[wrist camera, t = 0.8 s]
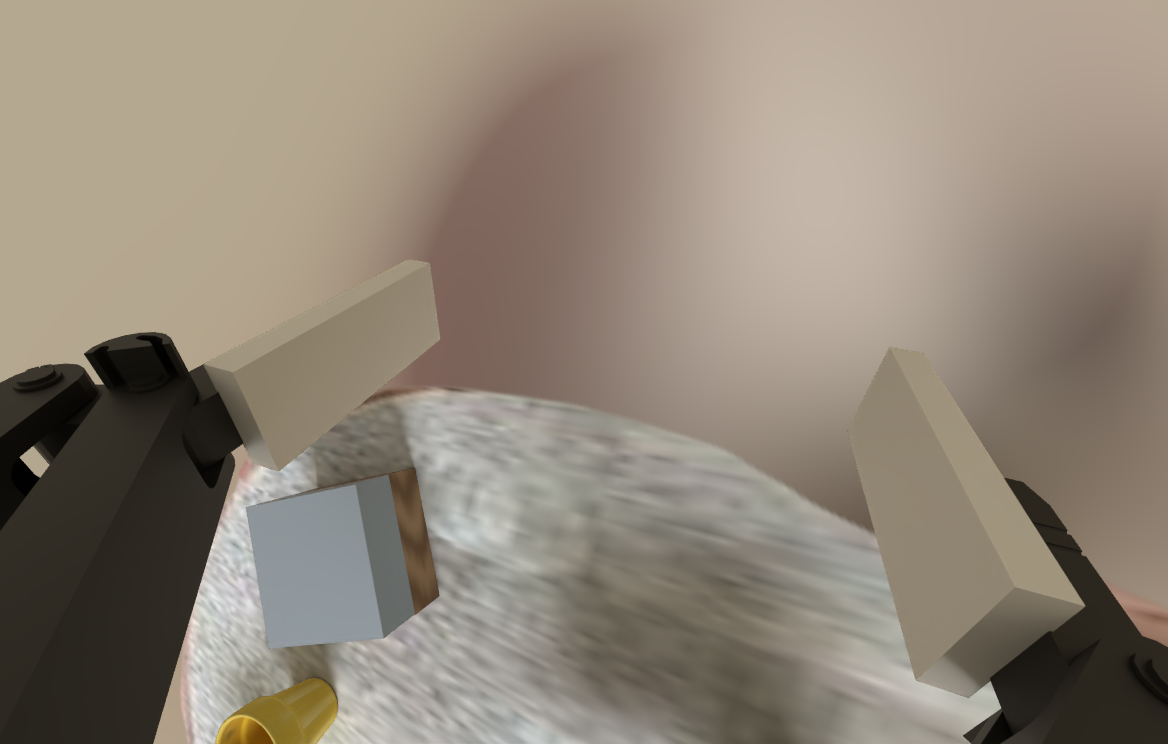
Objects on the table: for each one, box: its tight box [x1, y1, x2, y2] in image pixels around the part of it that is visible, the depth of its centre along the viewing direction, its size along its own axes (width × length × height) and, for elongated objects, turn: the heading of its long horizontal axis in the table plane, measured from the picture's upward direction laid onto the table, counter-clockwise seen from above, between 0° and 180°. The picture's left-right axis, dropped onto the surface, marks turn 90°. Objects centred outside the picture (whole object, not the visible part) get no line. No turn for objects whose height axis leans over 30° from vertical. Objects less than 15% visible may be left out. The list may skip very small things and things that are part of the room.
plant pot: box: [215, 678, 338, 744], centre depth 55 cm, size 10×10×10 cm
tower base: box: [295, 468, 439, 615], centre depth 56 cm, size 16×16×5 cm
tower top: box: [246, 475, 415, 649], centre depth 51 cm, size 16×16×5 cm
